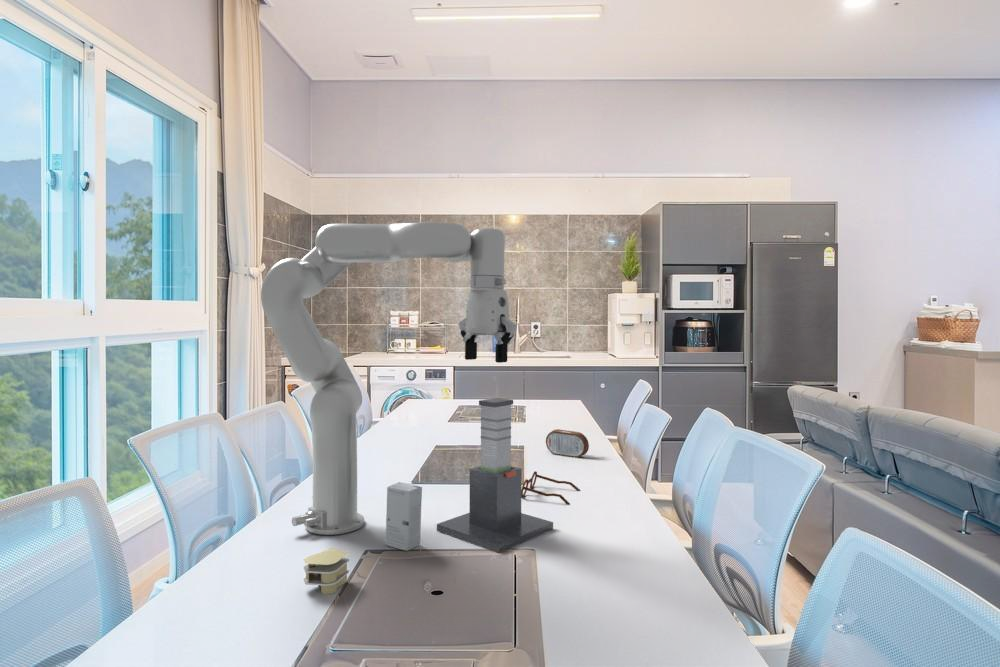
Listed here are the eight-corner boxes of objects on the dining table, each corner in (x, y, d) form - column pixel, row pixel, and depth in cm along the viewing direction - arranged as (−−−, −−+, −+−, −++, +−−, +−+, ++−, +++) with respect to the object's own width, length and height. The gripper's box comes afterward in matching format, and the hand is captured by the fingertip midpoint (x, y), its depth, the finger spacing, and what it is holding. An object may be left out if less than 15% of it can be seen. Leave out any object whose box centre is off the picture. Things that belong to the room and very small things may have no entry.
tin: (589, 457, 199) (589, 432, 198) (585, 459, 196) (585, 434, 196) (548, 452, 207) (548, 427, 206) (544, 453, 204) (544, 429, 204)
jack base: (498, 552, 119) (499, 485, 118) (436, 530, 130) (437, 469, 130) (553, 528, 132) (553, 468, 132) (492, 510, 144) (492, 454, 144)
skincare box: (384, 545, 122) (384, 486, 122) (398, 538, 126) (398, 481, 125) (408, 551, 119) (408, 491, 118) (422, 544, 123) (422, 485, 122)
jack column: (494, 501, 127) (494, 402, 127) (478, 496, 130) (478, 400, 130) (512, 495, 132) (513, 399, 131) (496, 491, 135) (497, 397, 134)
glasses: (533, 487, 166) (533, 469, 166) (580, 491, 162) (580, 473, 161) (519, 501, 153) (519, 481, 153) (569, 506, 149) (570, 486, 149)
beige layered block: (324, 572, 110) (324, 543, 110) (365, 581, 106) (365, 550, 106) (285, 596, 101) (285, 563, 100) (329, 606, 97) (329, 572, 97)
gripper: (527, 284, 131) (525, 362, 132) (472, 286, 143) (471, 357, 144) (503, 282, 126) (502, 364, 127) (448, 284, 138) (447, 359, 138)
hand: (485, 360), depth 135 cm, fingers open, 9 cm apart
